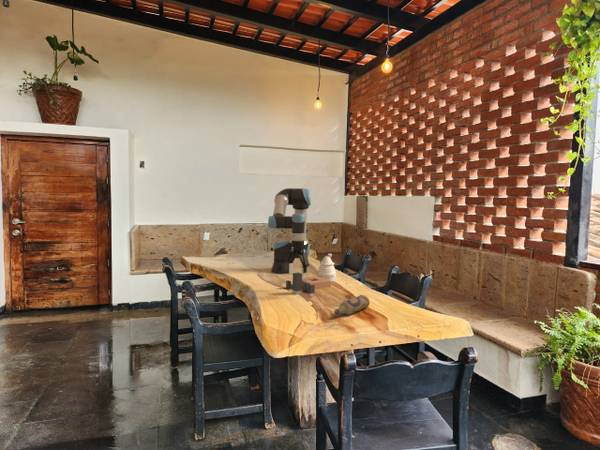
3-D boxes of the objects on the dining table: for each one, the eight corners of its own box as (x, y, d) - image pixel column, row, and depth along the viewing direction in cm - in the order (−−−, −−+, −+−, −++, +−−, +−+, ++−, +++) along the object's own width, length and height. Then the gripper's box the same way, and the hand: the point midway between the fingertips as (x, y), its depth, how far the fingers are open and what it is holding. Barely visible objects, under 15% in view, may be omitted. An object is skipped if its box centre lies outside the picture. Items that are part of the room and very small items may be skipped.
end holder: (295, 284, 243) (295, 278, 243) (315, 281, 252) (315, 275, 252) (310, 290, 230) (310, 283, 229) (330, 286, 239) (330, 280, 238)
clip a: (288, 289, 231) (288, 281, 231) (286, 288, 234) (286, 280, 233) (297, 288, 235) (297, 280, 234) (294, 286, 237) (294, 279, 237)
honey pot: (335, 278, 264) (336, 252, 263) (335, 282, 251) (336, 255, 250) (317, 277, 265) (318, 252, 264) (316, 281, 253) (317, 255, 251)
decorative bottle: (327, 317, 181) (328, 303, 180) (357, 305, 200) (358, 293, 199) (340, 320, 176) (341, 306, 175) (370, 308, 195) (370, 296, 194)
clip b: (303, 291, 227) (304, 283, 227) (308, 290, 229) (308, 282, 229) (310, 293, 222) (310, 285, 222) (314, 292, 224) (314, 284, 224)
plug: (292, 293, 223) (292, 273, 222) (298, 292, 225) (298, 272, 224) (296, 294, 219) (296, 274, 218) (301, 293, 221) (302, 273, 220)
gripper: (281, 238, 228) (280, 273, 229) (305, 242, 207) (304, 280, 208) (291, 237, 232) (291, 272, 233) (316, 242, 211) (315, 279, 213)
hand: (297, 276), depth 221 cm, fingers open, 13 cm apart
